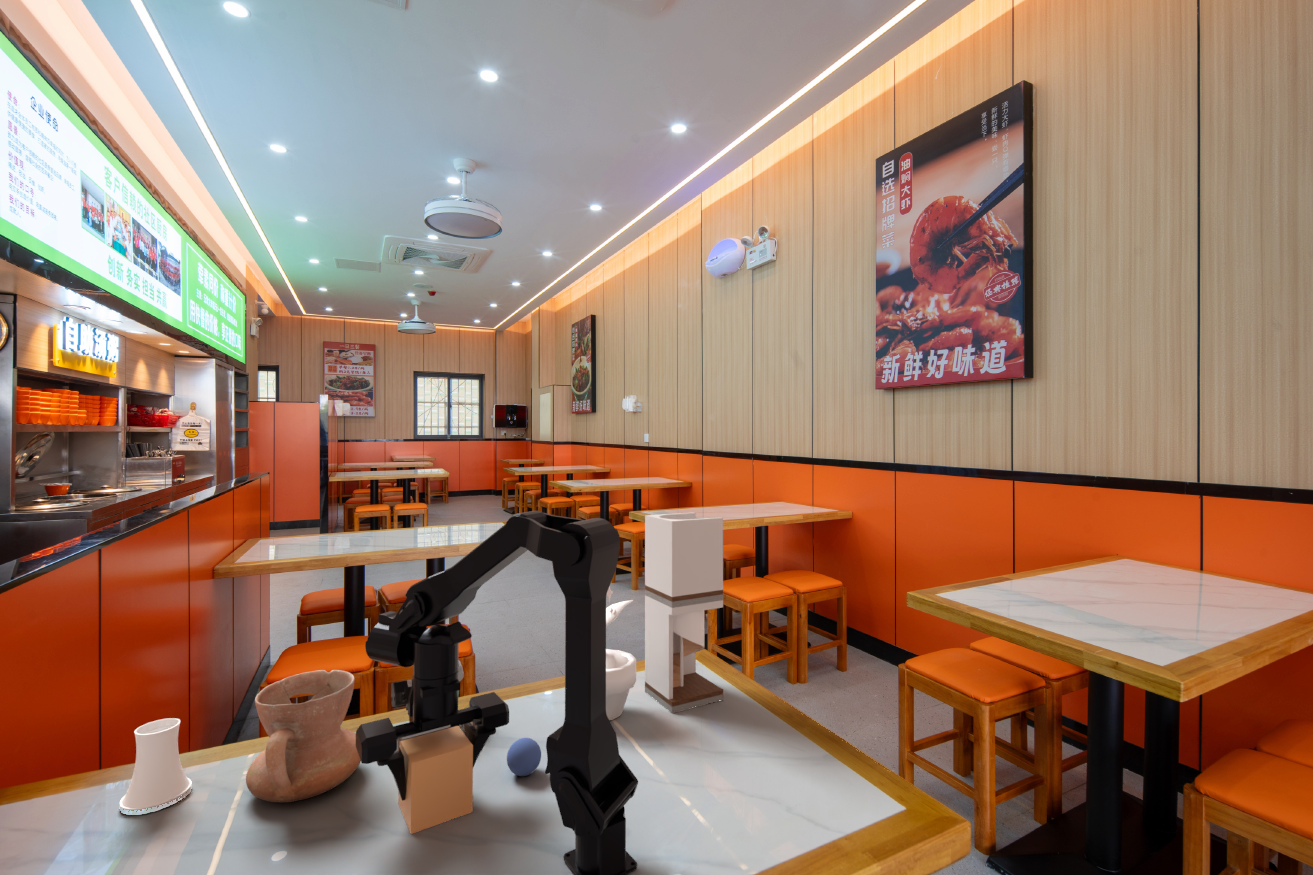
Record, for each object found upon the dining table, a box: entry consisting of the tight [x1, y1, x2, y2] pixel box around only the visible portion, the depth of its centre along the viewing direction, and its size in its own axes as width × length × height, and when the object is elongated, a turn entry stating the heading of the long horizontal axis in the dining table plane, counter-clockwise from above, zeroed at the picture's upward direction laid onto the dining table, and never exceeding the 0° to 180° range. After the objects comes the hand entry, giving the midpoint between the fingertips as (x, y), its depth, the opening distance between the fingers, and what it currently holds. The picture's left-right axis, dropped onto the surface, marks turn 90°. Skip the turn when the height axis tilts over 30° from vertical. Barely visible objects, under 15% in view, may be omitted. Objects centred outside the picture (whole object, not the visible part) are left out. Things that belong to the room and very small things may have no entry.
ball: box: [506, 737, 542, 777], centre depth 86 cm, size 5×5×5 cm
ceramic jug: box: [245, 669, 361, 803], centre depth 83 cm, size 18×14×14 cm
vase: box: [119, 717, 193, 812], centre depth 80 cm, size 8×8×10 cm
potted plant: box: [606, 585, 637, 721], centre depth 106 cm, size 13×12×25 cm
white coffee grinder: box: [644, 512, 724, 714], centre depth 114 cm, size 11×11×35 cm
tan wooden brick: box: [397, 725, 474, 835], centre depth 78 cm, size 8×8×9 cm
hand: (435, 788), depth 78 cm, fingers closed on tan wooden brick, 8 cm apart
